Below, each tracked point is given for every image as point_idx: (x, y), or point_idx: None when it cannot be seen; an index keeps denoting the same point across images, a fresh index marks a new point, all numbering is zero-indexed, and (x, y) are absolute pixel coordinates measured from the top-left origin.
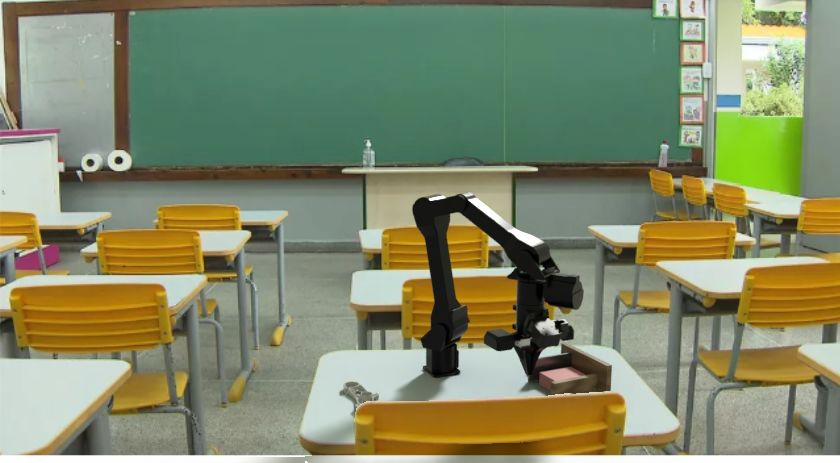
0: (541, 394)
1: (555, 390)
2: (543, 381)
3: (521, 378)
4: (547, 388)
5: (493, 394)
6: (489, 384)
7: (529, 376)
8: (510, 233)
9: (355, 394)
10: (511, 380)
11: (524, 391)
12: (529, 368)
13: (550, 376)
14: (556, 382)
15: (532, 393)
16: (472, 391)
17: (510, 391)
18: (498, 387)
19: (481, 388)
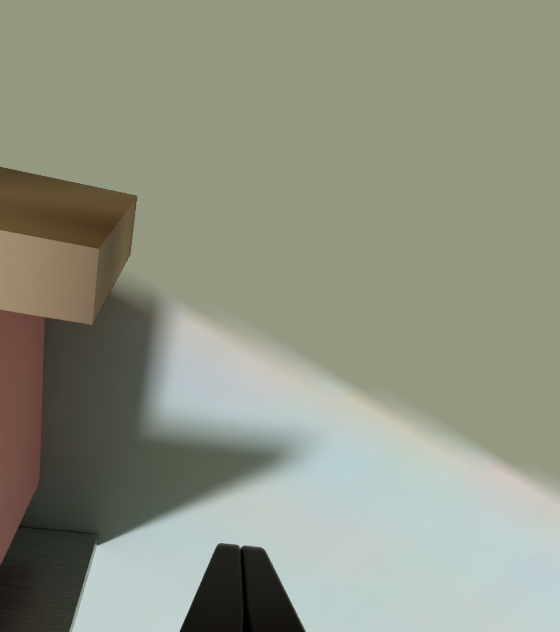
0: (183, 325)
1: (101, 212)
2: (23, 467)
3: (94, 600)
4: (40, 383)
5: (482, 511)
6: (359, 620)
7: (79, 580)
8: None
9: None
10: (185, 606)
11: (259, 442)
12: (273, 627)
13: None
14: (37, 263)
15: (235, 382)
16: (531, 596)
17: (346, 491)
18: (354, 569)
19: (451, 602)
